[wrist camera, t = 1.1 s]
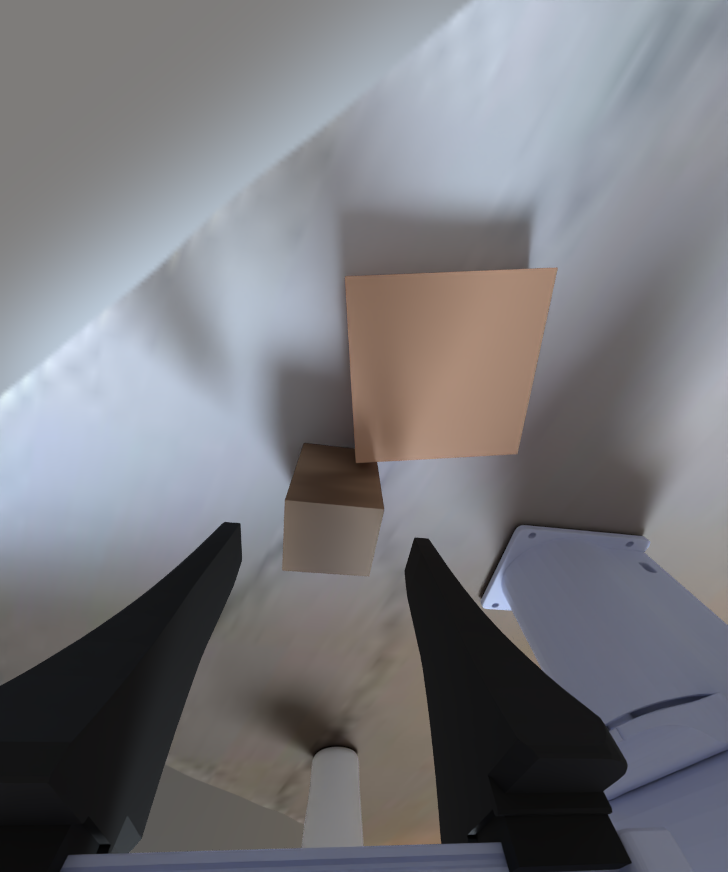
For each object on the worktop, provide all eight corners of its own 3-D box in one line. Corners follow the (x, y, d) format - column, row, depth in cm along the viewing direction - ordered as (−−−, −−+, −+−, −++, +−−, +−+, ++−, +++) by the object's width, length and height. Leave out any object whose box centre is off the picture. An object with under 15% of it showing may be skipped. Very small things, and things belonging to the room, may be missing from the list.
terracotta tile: (521, 273, 13) (557, 267, 11) (494, 433, 16) (517, 454, 14) (345, 280, 13) (344, 276, 11) (355, 440, 16) (355, 463, 14)
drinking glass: (307, 766, 35) (278, 1068, 21) (305, 742, 32) (270, 1072, 18) (363, 765, 35) (370, 1059, 21) (366, 740, 32) (377, 1063, 19)
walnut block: (375, 450, 16) (384, 509, 12) (364, 506, 18) (369, 576, 13) (304, 442, 16) (284, 499, 11) (300, 500, 18) (282, 570, 13)
